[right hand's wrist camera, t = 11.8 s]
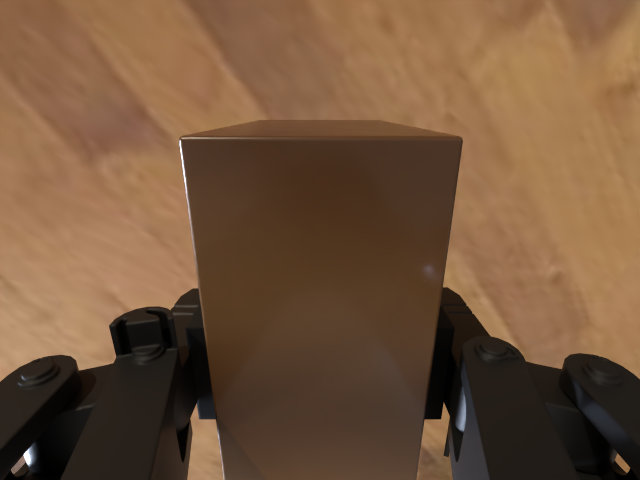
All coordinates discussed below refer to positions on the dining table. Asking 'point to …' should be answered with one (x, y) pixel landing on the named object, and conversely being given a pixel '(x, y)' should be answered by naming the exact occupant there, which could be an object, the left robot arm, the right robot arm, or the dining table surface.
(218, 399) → the bar
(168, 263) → the dining table surface
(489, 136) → the dining table surface
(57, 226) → the dining table surface
